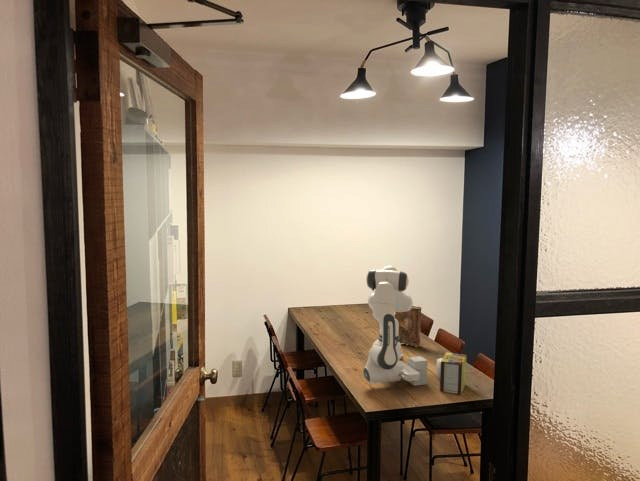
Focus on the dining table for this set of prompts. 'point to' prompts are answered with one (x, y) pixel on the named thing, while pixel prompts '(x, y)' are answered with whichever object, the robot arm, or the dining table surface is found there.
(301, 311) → the dining table surface
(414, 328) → the book
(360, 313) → the dining table surface
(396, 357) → the robot arm
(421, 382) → the supplement box
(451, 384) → the protein box
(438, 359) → the off-white mug
